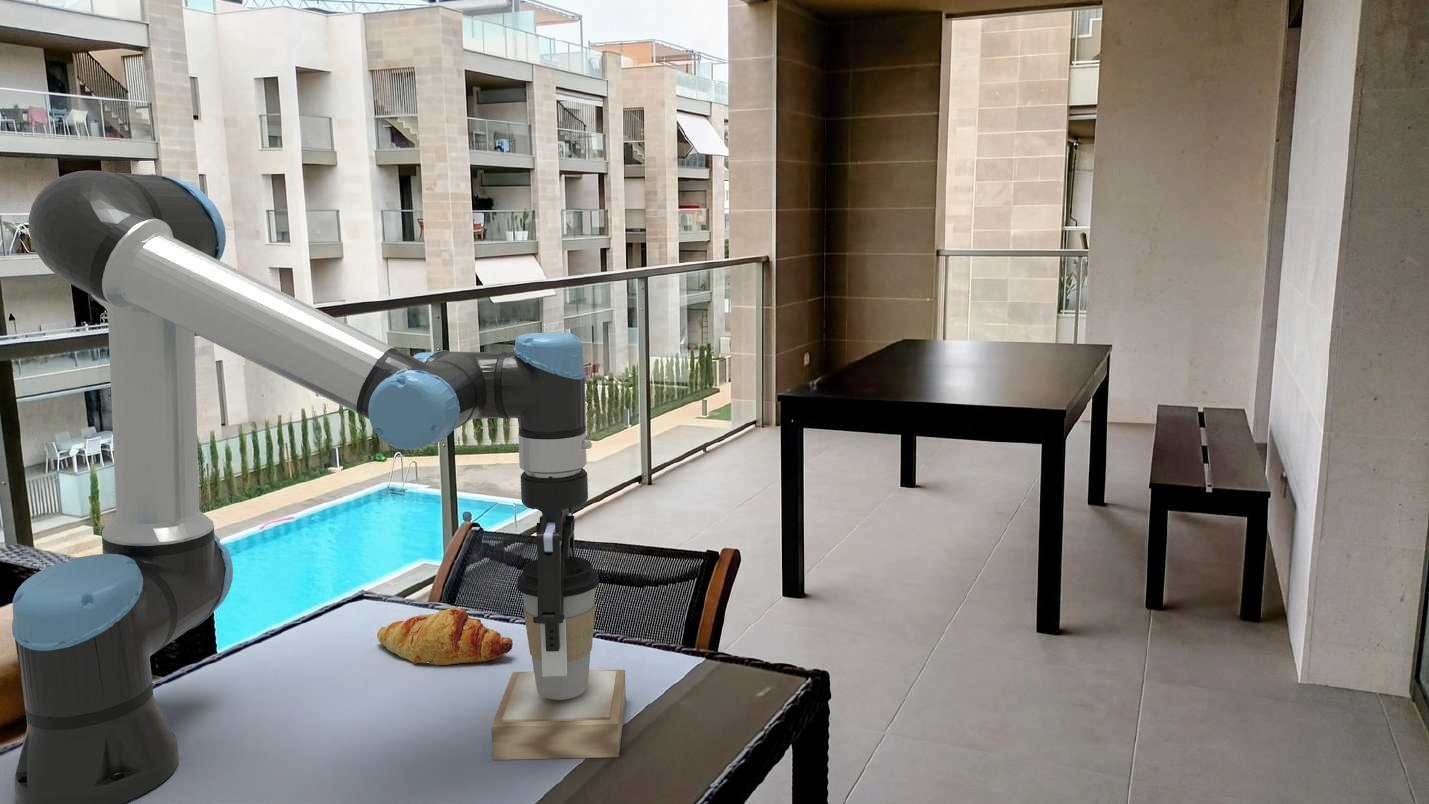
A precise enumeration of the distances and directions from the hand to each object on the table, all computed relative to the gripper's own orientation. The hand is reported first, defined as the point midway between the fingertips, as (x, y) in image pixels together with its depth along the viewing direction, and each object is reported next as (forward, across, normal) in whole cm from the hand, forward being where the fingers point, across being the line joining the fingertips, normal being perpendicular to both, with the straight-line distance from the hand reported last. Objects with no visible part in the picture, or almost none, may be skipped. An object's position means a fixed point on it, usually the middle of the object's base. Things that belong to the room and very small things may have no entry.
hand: (560, 655), depth 118 cm
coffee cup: (+4, 0, 0) cm, 4 cm away
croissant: (+9, +22, +19) cm, 31 cm away
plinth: (+9, 0, 0) cm, 9 cm away
